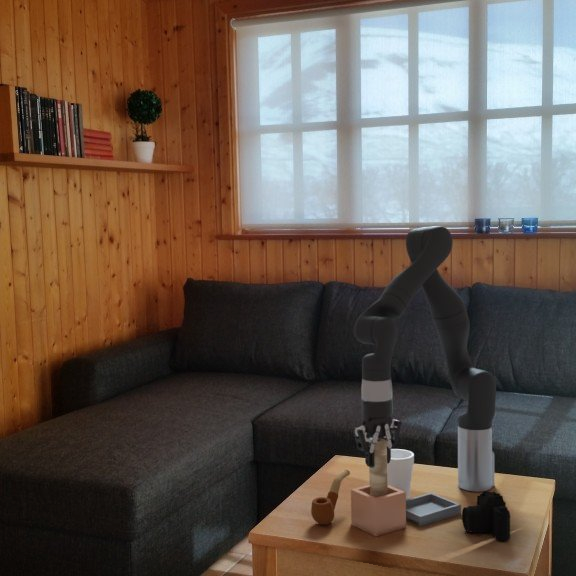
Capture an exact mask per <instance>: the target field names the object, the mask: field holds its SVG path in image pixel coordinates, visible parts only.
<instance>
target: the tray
mask: <svg viewBox="0 0 576 576" xmlns="http://www.w3.org/2000/svg"><path fill="white" fill-rule="evenodd" d="M459 515H462V504H460V503H458V502H455V501H453V500H450V499H449V498H446V497H443V496H442V495H438V494H436V493H433V492H429V493H425V494H422V495H418V496H415V497H411V498H410V497H409V499H407V500H406V522H407V521H408V522H409V523H412V524H413V525H416V526H418V527H423V526H427V525H430V524H433V523H437V522H440V521H443V520H445V519H446V520H447V519H449V518H452V517H457V516H459Z"/></svg>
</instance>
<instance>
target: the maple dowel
mask: <svg viewBox="0 0 576 576" xmlns="http://www.w3.org/2000/svg"><path fill="white" fill-rule="evenodd" d="M370 439H372V438H371V437H370ZM369 446H370V442H369ZM373 453H374V467H372V468H371V467H368V468H369V469H368V471H369V485H370V495H371V496H373V497H376V498H377V497H381V496H384V495H388V481H387V440H386V439H383V438H380V437H379V438H378V439H377V443H376V444H375V446H374V451H373Z"/></svg>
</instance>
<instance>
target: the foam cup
mask: <svg viewBox="0 0 576 576" xmlns="http://www.w3.org/2000/svg"><path fill="white" fill-rule="evenodd" d="M414 463H415V453H414V452H413V451H411V450H407V449H400V448H391V460H390V463H387V481H388V485H390V486H392V487H395V488H397V489H400V490H402V491H404V492H406V500H407V499H410V493H411V492H410V490H411V482H412V475H413V467H414Z"/></svg>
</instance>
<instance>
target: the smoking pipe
mask: <svg viewBox="0 0 576 576" xmlns="http://www.w3.org/2000/svg"><path fill="white" fill-rule="evenodd" d="M350 474H351V472H350V470H349V469H345V470H344V471H342V472H341V473H339V474H338V475H337V476H336V477H334V479H333V481H332V483H331V486H330V488H329V492H328V493H327V496H326V497H325V496H320V497H316V498H314V499H312V502H311V510H310V511H311V512H310V513H311V517H312V519H313V520H314V521H315V523H317V524H319V525H321V526H327V525H330V524H331V523H332V522H333V521H334V518H335V509H336V505H337V501H338V498H339V493H340V492H339V491H340V488H341V484H342V482H343V480H344V479H345V478H347V477H349V476H350Z"/></svg>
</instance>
